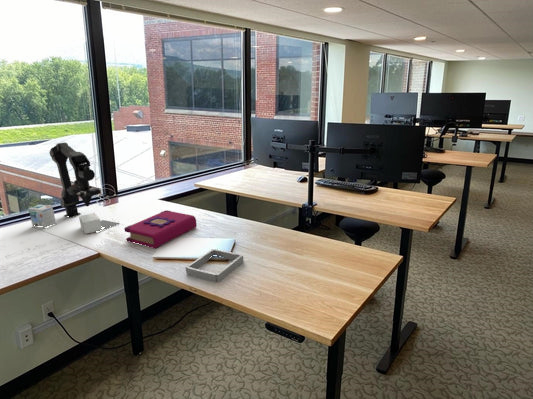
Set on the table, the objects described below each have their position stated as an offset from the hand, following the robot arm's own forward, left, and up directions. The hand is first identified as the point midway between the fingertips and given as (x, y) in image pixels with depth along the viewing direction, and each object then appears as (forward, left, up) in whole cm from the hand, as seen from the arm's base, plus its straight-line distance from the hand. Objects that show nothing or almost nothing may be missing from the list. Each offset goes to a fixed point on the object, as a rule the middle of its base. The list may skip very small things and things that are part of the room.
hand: (87, 206), depth 205 cm
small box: (0, -1, -7) cm, 7 cm away
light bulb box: (-24, -11, -11) cm, 29 cm away
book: (+46, +5, -11) cm, 48 cm away
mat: (+7, 0, -11) cm, 13 cm away
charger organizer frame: (+92, -13, -11) cm, 93 cm away
